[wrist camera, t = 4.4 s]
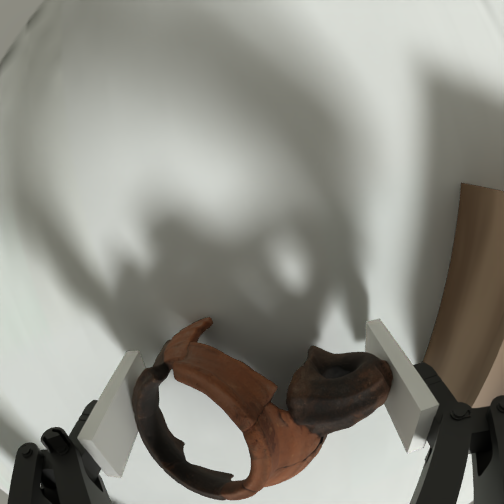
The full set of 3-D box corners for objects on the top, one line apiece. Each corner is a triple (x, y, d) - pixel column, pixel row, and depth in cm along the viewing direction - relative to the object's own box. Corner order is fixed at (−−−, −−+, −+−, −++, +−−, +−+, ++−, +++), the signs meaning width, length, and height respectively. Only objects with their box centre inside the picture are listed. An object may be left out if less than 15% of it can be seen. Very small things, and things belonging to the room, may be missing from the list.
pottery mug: (253, 445, 19) (181, 514, 11) (190, 333, 21) (93, 368, 13) (419, 392, 14) (414, 496, 6) (343, 243, 16) (287, 246, 8)
